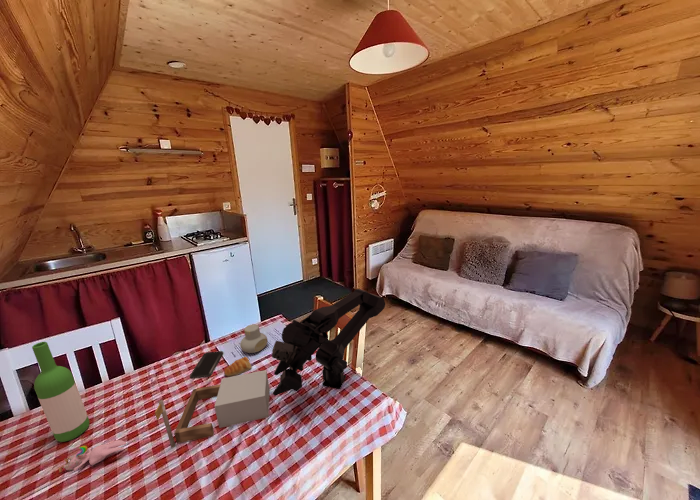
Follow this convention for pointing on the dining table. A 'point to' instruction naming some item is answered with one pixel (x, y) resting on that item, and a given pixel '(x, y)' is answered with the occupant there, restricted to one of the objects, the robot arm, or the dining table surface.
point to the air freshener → (253, 339)
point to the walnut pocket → (189, 417)
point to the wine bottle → (59, 396)
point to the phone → (206, 365)
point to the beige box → (242, 399)
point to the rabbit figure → (91, 455)
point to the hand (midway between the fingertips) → (274, 384)
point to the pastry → (238, 367)
